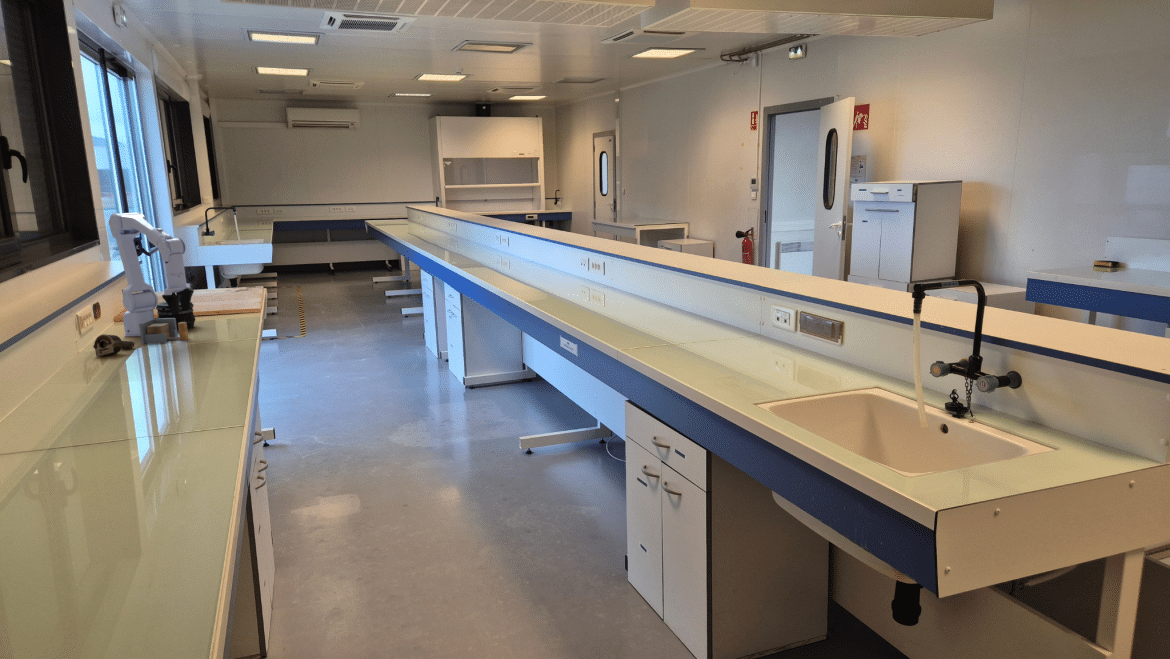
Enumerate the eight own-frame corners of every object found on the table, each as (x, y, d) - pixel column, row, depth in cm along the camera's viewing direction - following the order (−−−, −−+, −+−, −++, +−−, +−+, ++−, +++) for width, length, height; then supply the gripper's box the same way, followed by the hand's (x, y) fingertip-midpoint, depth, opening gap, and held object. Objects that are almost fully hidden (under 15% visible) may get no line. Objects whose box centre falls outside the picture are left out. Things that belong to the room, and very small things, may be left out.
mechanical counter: (82, 339, 236) (98, 335, 231) (121, 328, 247) (137, 324, 242) (90, 360, 238) (107, 357, 233) (129, 348, 249) (145, 345, 244)
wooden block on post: (148, 342, 256) (146, 325, 254) (156, 338, 260) (153, 322, 259) (184, 340, 256) (181, 324, 255) (190, 337, 261) (188, 321, 260)
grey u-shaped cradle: (141, 343, 253) (139, 324, 252) (156, 337, 263) (153, 318, 261) (164, 343, 254) (161, 323, 252) (178, 337, 263) (175, 318, 262)
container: (203, 325, 285) (200, 299, 283) (182, 332, 272) (179, 305, 270) (172, 325, 286) (169, 299, 284) (150, 332, 273) (146, 305, 271)
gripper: (177, 276, 247) (182, 315, 250) (197, 270, 261) (201, 308, 264) (155, 276, 247) (161, 316, 249) (176, 271, 261) (181, 308, 264)
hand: (180, 312), depth 257 cm, fingers open, 7 cm apart
